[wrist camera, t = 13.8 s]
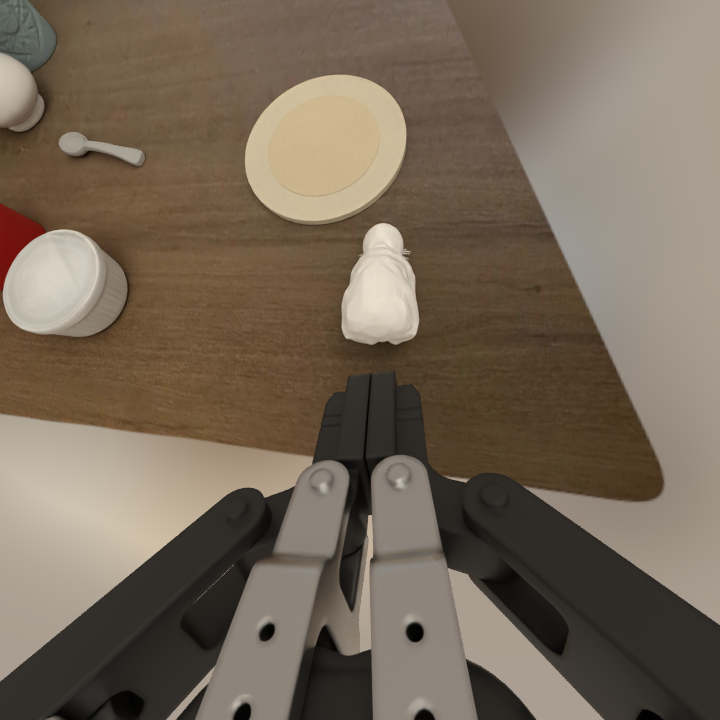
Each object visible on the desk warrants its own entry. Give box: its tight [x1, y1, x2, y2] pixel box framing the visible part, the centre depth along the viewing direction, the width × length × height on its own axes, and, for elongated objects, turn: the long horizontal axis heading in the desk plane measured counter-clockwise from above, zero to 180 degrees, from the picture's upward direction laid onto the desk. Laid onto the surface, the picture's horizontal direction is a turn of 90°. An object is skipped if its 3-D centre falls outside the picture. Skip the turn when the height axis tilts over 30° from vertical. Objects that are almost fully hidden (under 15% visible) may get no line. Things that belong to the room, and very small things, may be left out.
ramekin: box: [3, 229, 128, 337], centre depth 40 cm, size 11×11×5 cm
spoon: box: [59, 132, 145, 166], centre depth 45 cm, size 3×12×2 cm, turn 72°
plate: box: [245, 75, 407, 225], centre depth 40 cm, size 18×18×1 cm
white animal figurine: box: [341, 223, 419, 345], centre depth 32 cm, size 6×8×12 cm
